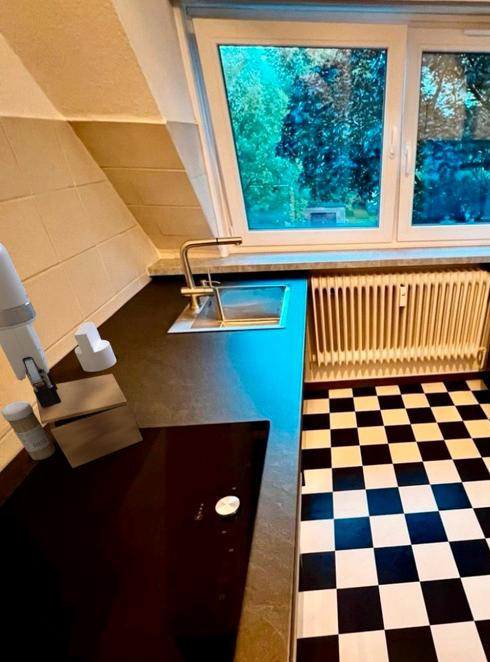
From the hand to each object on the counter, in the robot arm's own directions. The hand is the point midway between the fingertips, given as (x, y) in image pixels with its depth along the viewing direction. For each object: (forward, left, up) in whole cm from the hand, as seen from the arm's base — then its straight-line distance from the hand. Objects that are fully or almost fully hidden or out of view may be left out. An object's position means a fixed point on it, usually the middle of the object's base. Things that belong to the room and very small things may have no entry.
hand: (50, 397), depth 78 cm
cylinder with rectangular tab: (+11, +40, -14) cm, 44 cm away
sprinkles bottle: (-6, +2, -14) cm, 16 cm away
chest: (+5, 0, -14) cm, 15 cm away
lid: (+5, 0, -2) cm, 5 cm away
